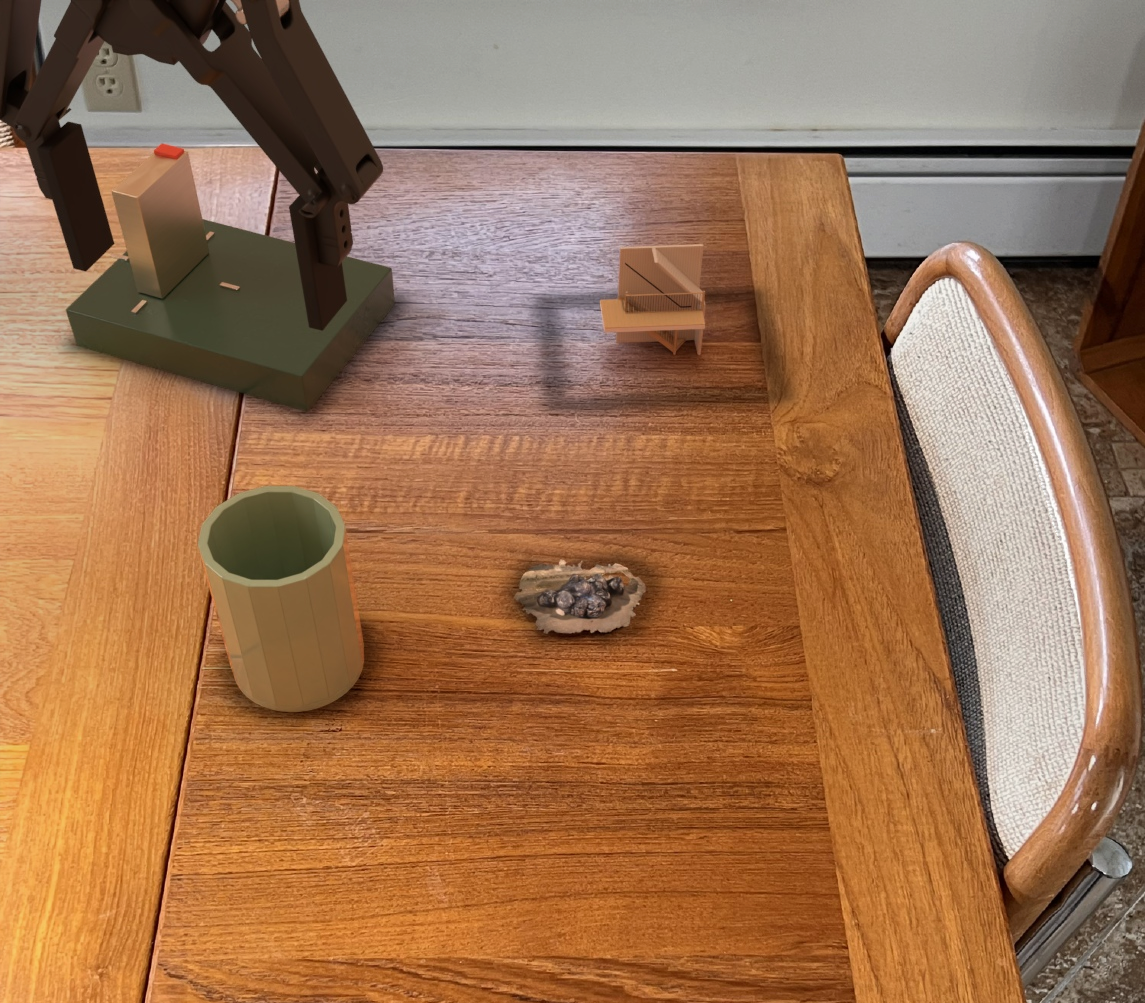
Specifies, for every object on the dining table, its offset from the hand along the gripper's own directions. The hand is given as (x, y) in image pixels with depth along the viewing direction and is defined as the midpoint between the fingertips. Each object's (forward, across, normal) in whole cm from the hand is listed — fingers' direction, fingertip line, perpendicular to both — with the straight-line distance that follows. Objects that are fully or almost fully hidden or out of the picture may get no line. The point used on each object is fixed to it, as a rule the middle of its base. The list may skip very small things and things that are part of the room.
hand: (209, 285), depth 73 cm
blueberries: (+18, -20, -3) cm, 27 cm away
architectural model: (+18, -16, -27) cm, 36 cm away
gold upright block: (+15, +17, -18) cm, 29 cm away
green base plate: (+18, +12, -18) cm, 28 cm away
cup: (+18, -6, +8) cm, 21 cm away
